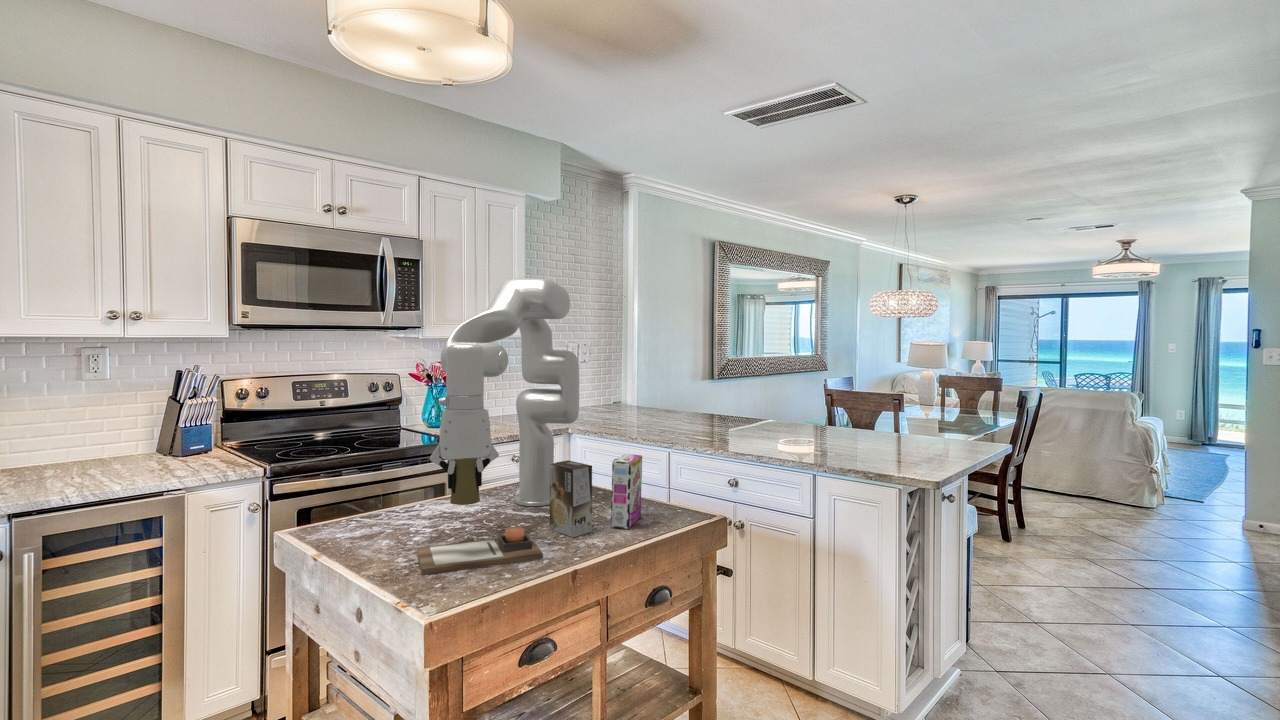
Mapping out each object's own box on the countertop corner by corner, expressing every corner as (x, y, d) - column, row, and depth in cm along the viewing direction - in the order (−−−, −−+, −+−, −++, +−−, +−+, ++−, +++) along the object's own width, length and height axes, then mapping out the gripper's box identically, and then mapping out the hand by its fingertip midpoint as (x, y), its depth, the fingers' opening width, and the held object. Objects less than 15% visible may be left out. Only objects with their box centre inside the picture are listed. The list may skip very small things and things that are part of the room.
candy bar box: (629, 530, 152) (630, 462, 151) (610, 528, 153) (610, 461, 152) (642, 517, 162) (643, 454, 162) (623, 515, 164) (624, 453, 163)
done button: (503, 537, 137) (503, 528, 137) (521, 535, 138) (521, 526, 138) (507, 543, 133) (507, 533, 133) (526, 540, 135) (526, 531, 135)
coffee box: (593, 532, 150) (594, 465, 149) (573, 538, 145) (573, 469, 145) (568, 523, 156) (568, 459, 156) (547, 529, 152) (548, 463, 151)
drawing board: (417, 553, 134) (417, 540, 134) (528, 539, 144) (528, 527, 144) (422, 575, 122) (422, 560, 122) (542, 558, 132) (542, 545, 132)
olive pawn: (471, 505, 128) (471, 451, 127) (444, 503, 129) (444, 450, 128) (485, 498, 133) (485, 446, 133) (458, 496, 135) (458, 445, 134)
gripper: (424, 406, 124) (424, 499, 124) (509, 404, 130) (508, 491, 131) (421, 402, 130) (421, 490, 131) (501, 400, 137) (501, 483, 138)
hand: (464, 490), depth 131 cm, fingers closed on olive pawn, 4 cm apart
